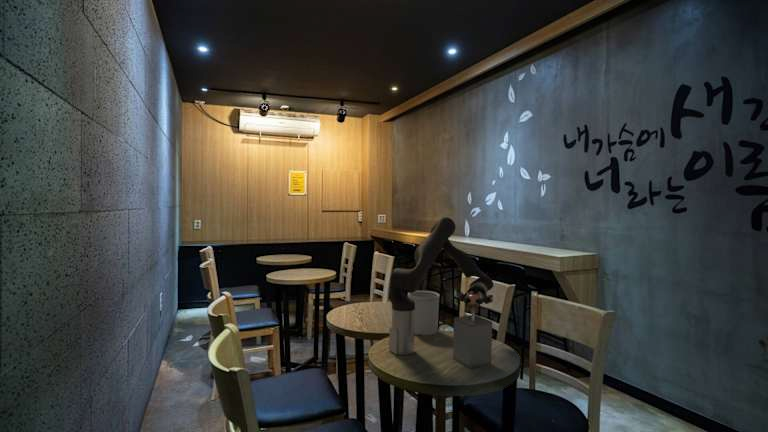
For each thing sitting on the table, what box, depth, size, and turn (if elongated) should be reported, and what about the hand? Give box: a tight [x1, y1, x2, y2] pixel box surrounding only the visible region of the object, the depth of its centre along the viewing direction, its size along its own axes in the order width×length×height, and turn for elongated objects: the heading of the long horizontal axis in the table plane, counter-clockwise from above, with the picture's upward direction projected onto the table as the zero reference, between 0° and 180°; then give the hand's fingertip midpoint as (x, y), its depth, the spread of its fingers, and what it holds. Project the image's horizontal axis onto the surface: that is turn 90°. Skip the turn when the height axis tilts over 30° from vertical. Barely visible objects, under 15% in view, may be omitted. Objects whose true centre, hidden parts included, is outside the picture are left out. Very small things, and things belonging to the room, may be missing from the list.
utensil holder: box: [407, 290, 441, 336], centre depth 193 cm, size 15×15×18 cm
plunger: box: [467, 294, 480, 321], centre depth 156 cm, size 8×8×23 cm
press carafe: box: [452, 314, 493, 369], centre depth 156 cm, size 10×10×16 cm
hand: (472, 301), depth 153 cm, fingers closed on plunger, 4 cm apart
